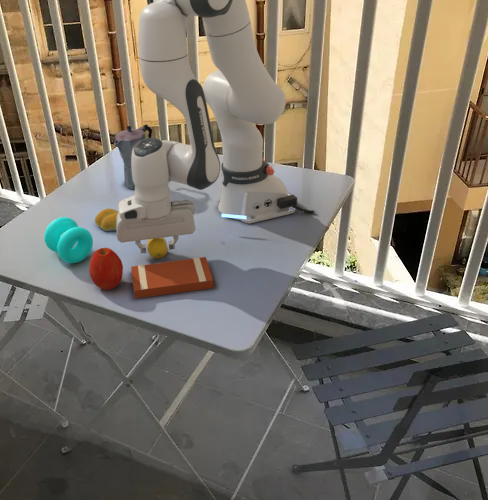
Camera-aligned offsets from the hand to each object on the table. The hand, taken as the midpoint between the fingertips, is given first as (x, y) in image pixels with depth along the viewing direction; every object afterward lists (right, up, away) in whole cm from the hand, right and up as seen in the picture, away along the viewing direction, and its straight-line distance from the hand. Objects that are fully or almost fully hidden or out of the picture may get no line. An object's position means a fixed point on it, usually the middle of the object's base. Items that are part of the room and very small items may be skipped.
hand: (157, 250), depth 147 cm
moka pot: (-7, +22, +36) cm, 43 cm away
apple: (-12, -9, -8) cm, 17 cm away
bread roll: (-14, +7, +16) cm, 22 cm away
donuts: (-23, -2, +3) cm, 24 cm away
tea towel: (+4, -8, -9) cm, 12 cm away
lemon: (0, -1, +1) cm, 2 cm away
